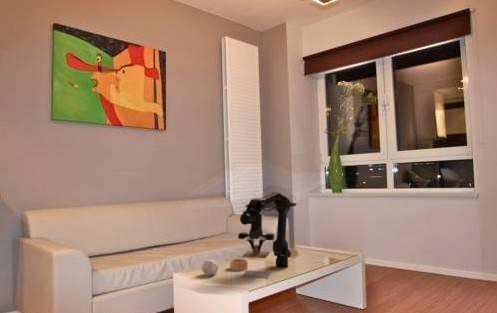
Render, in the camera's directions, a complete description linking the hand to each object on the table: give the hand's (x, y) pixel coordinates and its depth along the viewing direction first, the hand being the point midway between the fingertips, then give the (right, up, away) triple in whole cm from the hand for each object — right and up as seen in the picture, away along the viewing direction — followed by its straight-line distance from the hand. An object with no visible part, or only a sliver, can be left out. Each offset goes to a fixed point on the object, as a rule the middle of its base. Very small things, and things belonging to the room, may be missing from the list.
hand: (256, 252), depth 195 cm
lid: (0, -1, 0) cm, 1 cm away
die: (-24, -12, 0) cm, 27 cm away
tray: (0, -12, -1) cm, 12 cm away
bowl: (-9, -13, +12) cm, 20 cm away
